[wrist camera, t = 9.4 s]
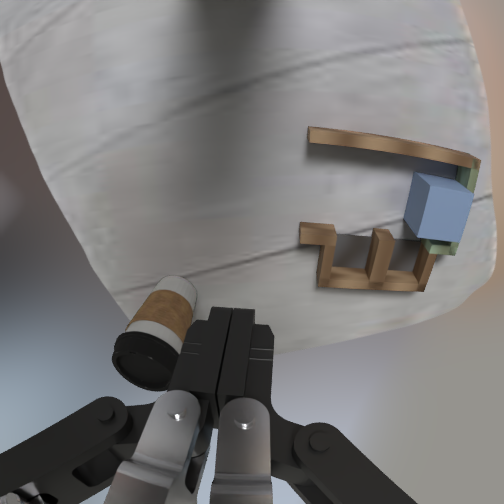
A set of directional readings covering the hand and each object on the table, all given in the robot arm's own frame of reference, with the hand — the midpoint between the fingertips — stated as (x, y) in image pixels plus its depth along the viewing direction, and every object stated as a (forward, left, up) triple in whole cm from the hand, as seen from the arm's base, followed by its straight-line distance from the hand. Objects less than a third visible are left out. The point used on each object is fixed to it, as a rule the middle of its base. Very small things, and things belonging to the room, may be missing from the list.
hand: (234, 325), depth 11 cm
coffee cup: (+20, -12, -26) cm, 34 cm away
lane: (+6, +14, -25) cm, 30 cm away
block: (+3, +20, -26) cm, 32 cm away
